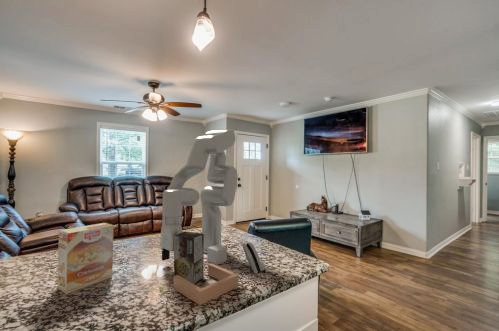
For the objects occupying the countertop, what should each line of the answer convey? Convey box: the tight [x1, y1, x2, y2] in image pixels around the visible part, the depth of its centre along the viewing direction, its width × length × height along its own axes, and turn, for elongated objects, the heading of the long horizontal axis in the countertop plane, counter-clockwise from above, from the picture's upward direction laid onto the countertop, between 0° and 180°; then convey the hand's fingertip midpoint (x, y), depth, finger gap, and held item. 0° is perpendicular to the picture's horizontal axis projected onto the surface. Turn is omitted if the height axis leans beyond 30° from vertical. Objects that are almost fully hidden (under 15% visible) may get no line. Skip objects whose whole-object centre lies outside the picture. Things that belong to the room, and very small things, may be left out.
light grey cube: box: [206, 245, 228, 266], centre depth 108 cm, size 6×6×6 cm
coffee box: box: [173, 231, 205, 284], centre depth 91 cm, size 9×6×16 cm
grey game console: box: [242, 241, 268, 274], centre depth 104 cm, size 17×5×10 cm, turn 13°
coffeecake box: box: [57, 222, 114, 295], centre depth 86 cm, size 15×7×20 cm, turn 148°
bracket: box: [172, 262, 240, 306], centre depth 84 cm, size 15×16×4 cm
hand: (171, 262), depth 99 cm, fingers open, 9 cm apart
